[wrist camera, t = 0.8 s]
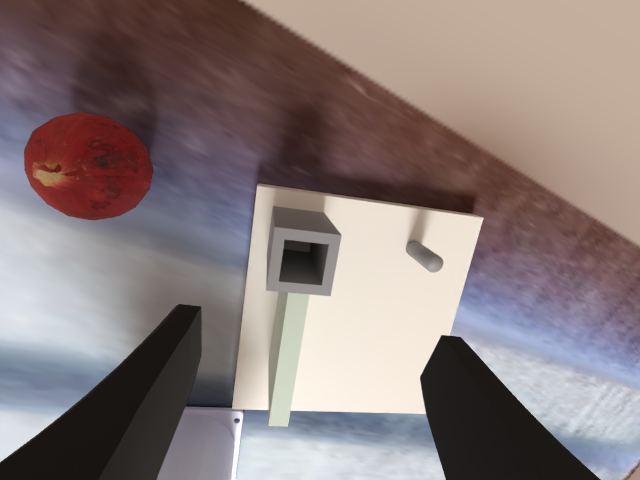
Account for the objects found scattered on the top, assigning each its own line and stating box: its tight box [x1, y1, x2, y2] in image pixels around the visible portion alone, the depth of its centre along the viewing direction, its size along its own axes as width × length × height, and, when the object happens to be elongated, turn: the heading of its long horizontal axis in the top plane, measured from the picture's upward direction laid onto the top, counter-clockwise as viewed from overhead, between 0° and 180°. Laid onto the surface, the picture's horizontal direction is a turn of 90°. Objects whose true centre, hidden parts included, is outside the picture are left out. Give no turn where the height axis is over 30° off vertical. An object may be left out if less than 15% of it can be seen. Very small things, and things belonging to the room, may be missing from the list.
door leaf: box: [266, 206, 342, 426], centre depth 23 cm, size 13×4×6 cm, turn 171°
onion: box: [24, 113, 153, 220], centre depth 19 cm, size 6×6×8 cm
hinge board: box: [232, 183, 483, 414], centre depth 26 cm, size 18×17×5 cm
